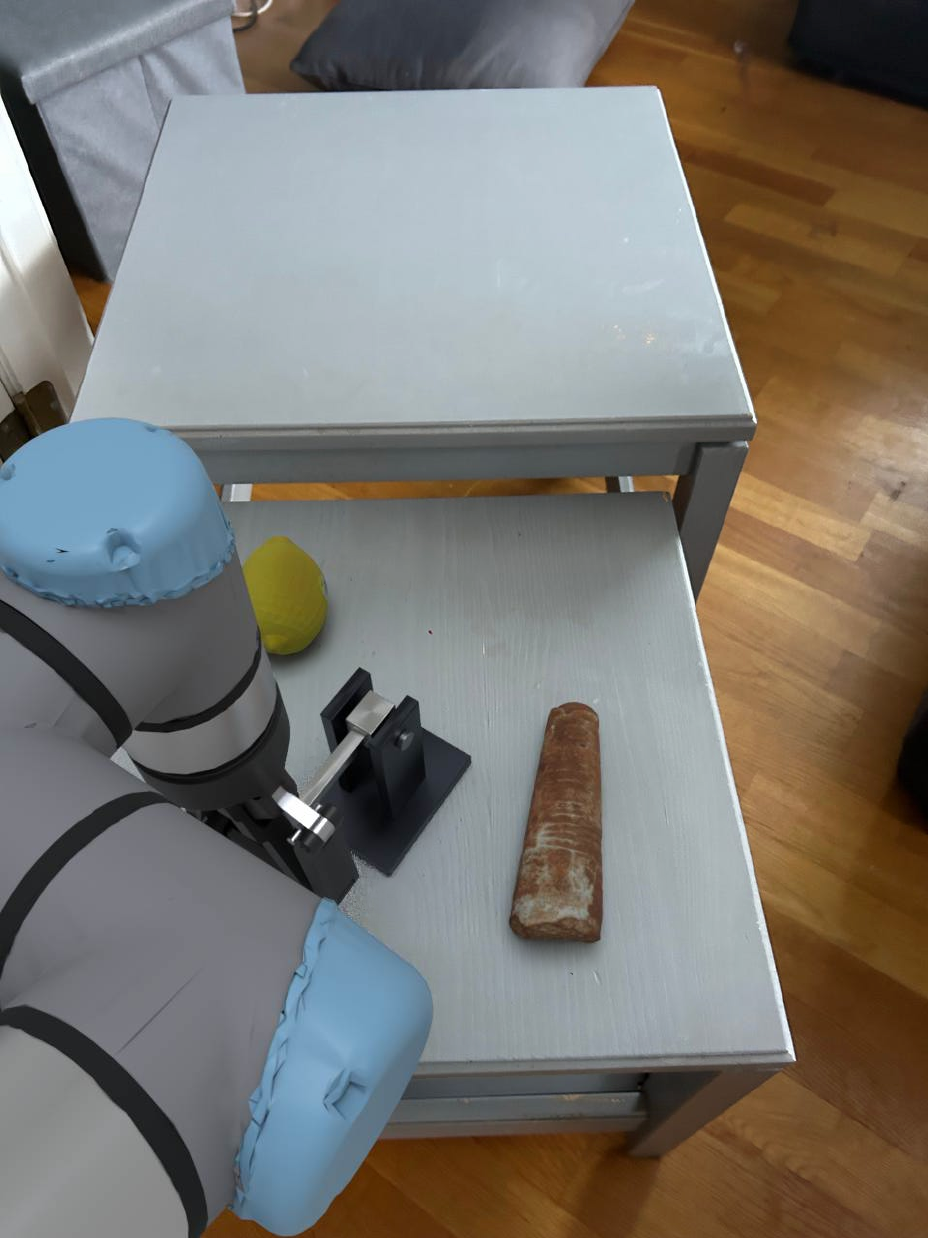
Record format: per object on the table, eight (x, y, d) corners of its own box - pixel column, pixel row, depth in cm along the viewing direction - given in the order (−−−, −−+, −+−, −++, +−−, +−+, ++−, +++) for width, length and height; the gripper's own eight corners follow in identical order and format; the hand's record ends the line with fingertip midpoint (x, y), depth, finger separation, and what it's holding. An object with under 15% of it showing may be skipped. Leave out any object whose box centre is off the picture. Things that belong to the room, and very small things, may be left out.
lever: (300, 892, 59) (294, 878, 57) (227, 841, 61) (219, 827, 59) (420, 734, 65) (419, 717, 63) (350, 693, 67) (347, 675, 65)
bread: (505, 947, 66) (507, 923, 62) (542, 712, 77) (546, 677, 72) (595, 964, 66) (603, 941, 61) (619, 724, 76) (628, 689, 72)
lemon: (321, 681, 79) (307, 627, 72) (230, 673, 79) (208, 619, 73) (344, 577, 85) (333, 519, 78) (259, 571, 85) (241, 512, 79)
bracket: (390, 877, 69) (375, 806, 59) (294, 814, 72) (263, 736, 62) (471, 762, 74) (471, 679, 64) (379, 708, 77) (364, 619, 67)
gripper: (411, 745, 43) (428, 909, 62) (110, 564, 49) (209, 765, 68) (308, 880, 39) (359, 1011, 58) (-4, 667, 45) (135, 849, 64)
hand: (278, 878), depth 63 cm, fingers closed on lever, 6 cm apart
